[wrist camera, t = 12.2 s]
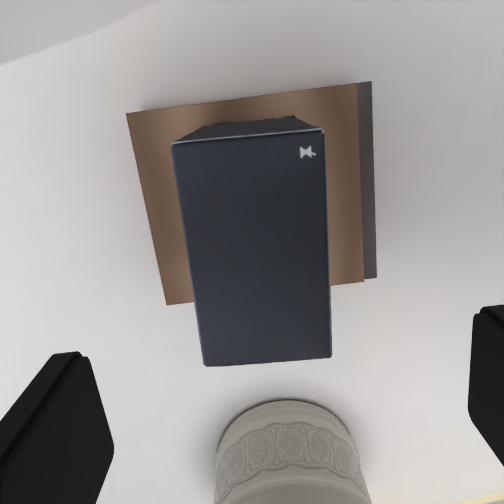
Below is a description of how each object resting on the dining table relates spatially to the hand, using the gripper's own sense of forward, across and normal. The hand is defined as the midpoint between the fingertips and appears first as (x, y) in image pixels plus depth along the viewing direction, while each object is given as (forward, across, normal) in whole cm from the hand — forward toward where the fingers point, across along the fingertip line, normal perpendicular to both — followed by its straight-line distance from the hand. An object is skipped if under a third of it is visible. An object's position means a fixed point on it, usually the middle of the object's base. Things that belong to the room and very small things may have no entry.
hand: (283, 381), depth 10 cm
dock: (+22, 0, 0) cm, 22 cm away
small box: (+19, 0, 0) cm, 19 cm away
